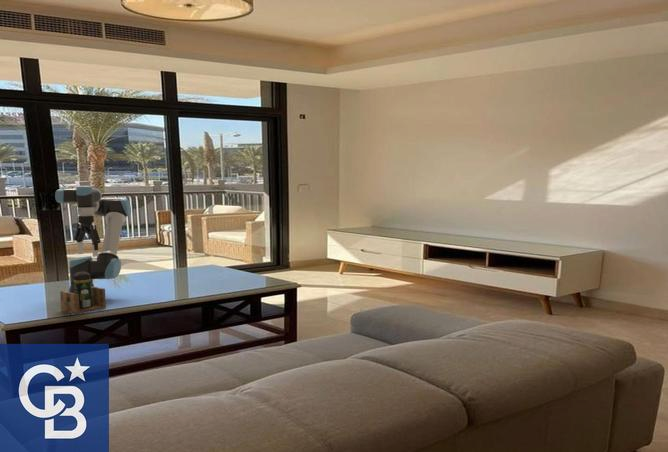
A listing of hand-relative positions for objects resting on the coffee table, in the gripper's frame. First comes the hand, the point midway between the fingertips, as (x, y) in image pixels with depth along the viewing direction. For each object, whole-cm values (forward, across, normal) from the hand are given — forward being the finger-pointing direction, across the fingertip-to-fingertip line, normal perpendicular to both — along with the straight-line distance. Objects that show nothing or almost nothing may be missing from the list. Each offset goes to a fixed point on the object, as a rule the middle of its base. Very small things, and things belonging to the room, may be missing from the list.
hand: (88, 255), depth 269 cm
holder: (+28, +2, -5) cm, 28 cm away
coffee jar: (+27, +2, -5) cm, 27 cm away
